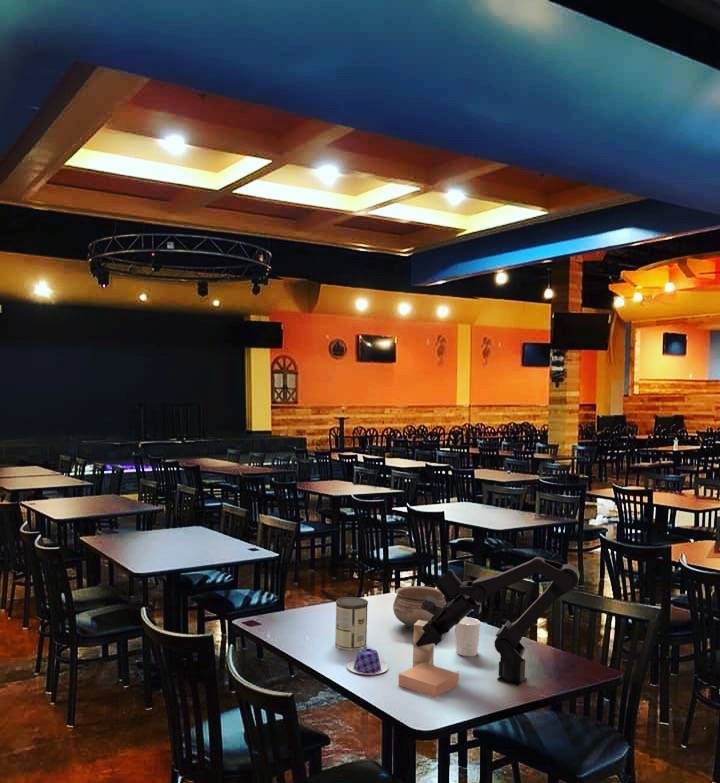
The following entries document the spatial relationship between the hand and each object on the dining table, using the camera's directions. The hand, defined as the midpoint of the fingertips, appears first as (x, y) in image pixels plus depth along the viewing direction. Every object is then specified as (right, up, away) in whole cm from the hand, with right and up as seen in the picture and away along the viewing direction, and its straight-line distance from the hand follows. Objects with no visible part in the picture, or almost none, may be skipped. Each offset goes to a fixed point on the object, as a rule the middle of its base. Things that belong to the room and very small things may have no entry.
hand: (419, 642), depth 209 cm
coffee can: (-21, -7, +15) cm, 27 cm away
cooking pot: (+3, -8, +36) cm, 37 cm away
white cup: (+16, -8, +12) cm, 21 cm away
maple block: (+1, -7, -1) cm, 7 cm away
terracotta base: (+1, -6, -15) cm, 16 cm away
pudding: (-16, -7, -4) cm, 17 cm away
